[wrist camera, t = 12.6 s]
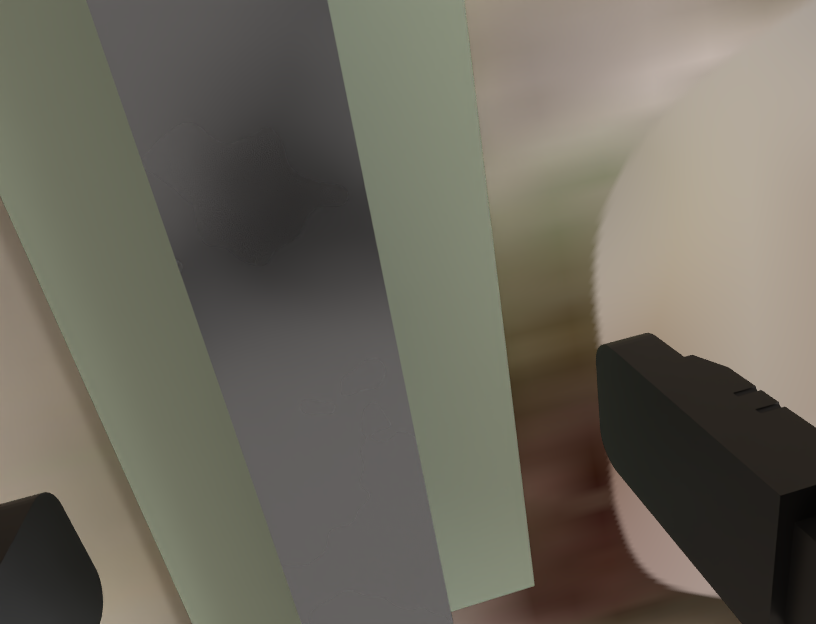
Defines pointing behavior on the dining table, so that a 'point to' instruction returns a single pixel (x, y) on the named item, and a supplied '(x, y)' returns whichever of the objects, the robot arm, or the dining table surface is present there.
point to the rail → (285, 288)
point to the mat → (177, 326)
